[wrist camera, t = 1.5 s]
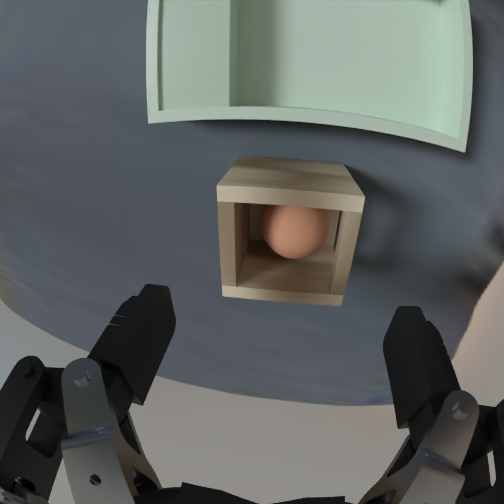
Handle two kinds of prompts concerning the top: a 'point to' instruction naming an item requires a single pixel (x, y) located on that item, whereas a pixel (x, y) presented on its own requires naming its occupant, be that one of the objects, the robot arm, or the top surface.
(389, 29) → the tray
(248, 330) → the top surface
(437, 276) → the top surface
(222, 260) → the open wooden box
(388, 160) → the top surface
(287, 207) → the ball
